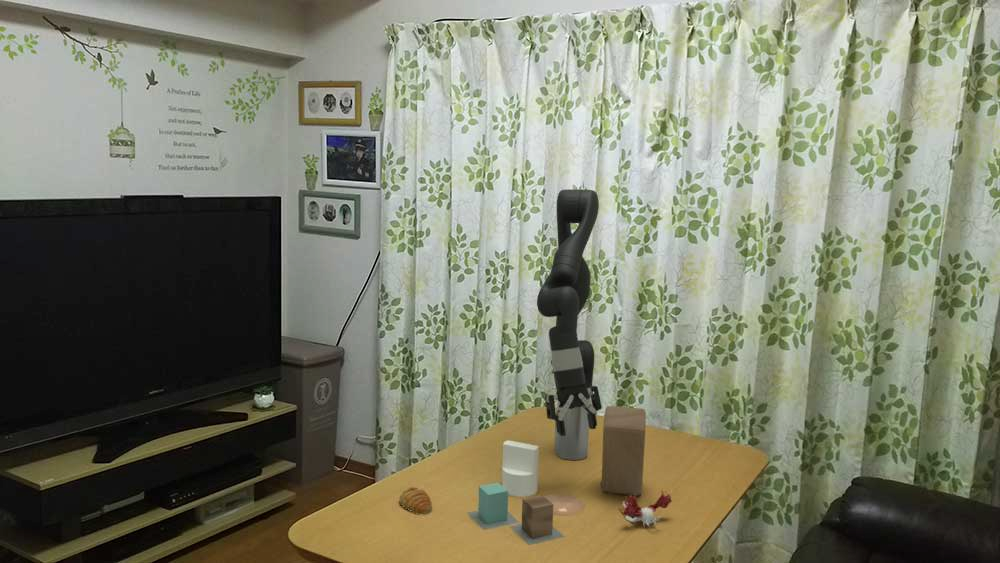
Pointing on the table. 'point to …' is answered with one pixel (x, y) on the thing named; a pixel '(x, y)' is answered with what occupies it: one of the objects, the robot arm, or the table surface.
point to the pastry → (416, 500)
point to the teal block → (493, 503)
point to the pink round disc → (565, 504)
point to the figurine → (644, 509)
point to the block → (623, 450)
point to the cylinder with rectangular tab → (520, 468)
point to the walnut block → (537, 516)
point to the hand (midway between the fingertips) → (577, 432)
